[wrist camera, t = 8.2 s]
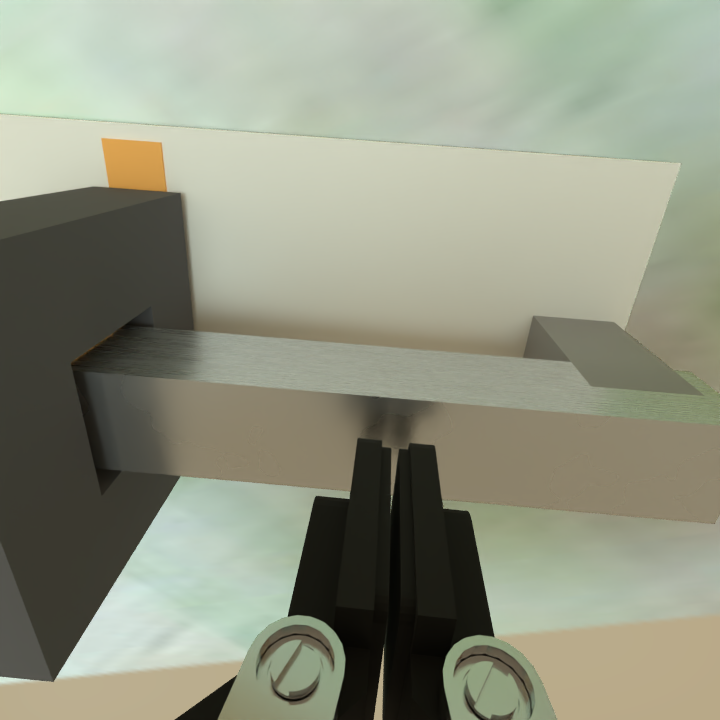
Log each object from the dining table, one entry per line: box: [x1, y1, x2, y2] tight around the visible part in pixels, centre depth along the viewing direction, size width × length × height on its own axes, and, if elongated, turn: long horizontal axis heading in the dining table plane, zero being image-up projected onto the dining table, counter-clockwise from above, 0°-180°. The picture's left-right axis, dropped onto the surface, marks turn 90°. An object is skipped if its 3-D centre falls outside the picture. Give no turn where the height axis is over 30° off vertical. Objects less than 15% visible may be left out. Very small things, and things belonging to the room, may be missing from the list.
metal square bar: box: [71, 325, 720, 524], centre depth 13 cm, size 24×3×3 cm, turn 86°
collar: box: [0, 186, 194, 682], centre depth 13 cm, size 3×10×10 cm, turn 176°
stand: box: [0, 114, 704, 396], centre depth 16 cm, size 24×14×6 cm, turn 86°
